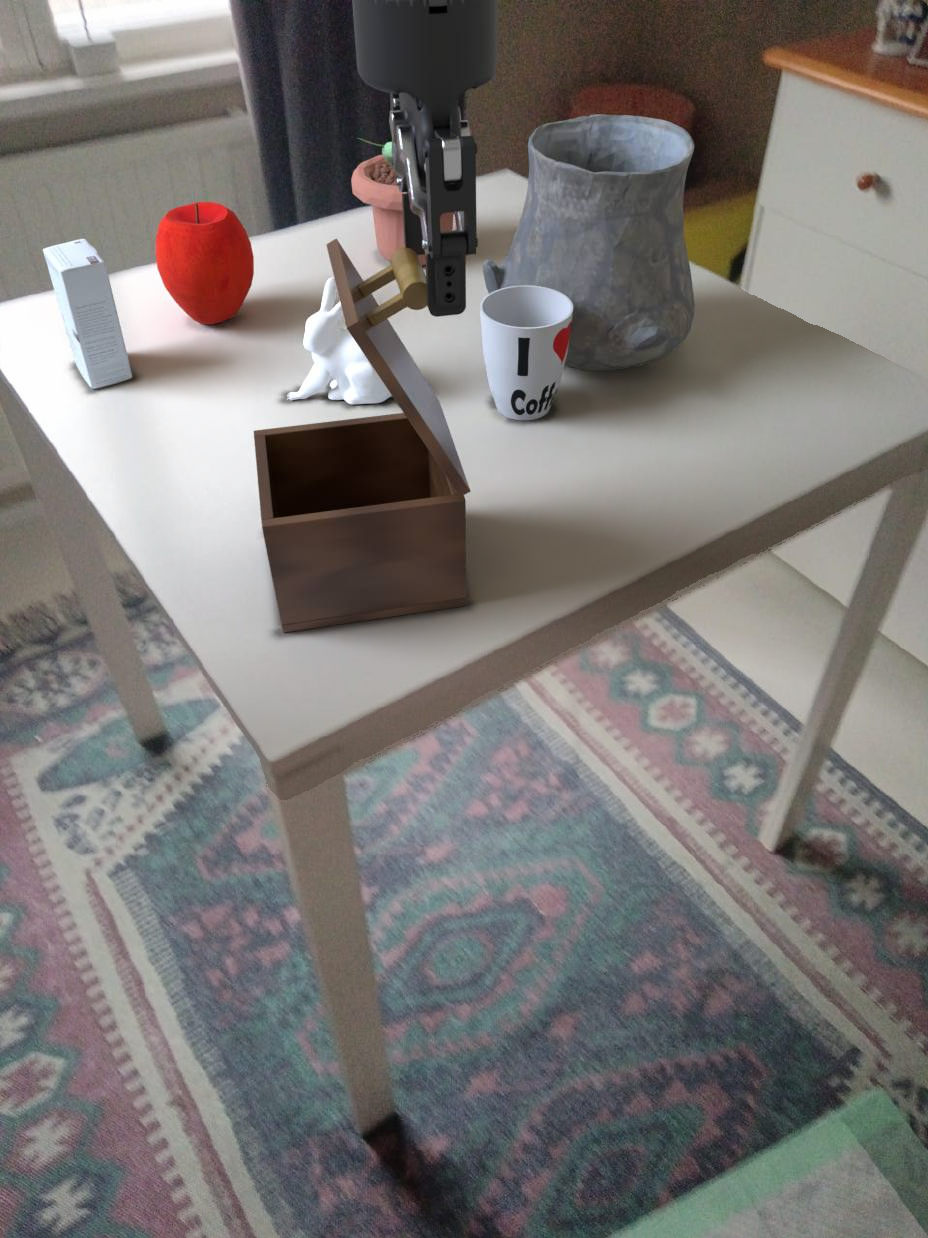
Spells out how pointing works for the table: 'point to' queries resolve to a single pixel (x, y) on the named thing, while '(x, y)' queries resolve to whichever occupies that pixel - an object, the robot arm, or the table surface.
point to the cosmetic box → (88, 312)
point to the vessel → (607, 236)
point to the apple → (205, 260)
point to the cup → (525, 347)
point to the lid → (396, 347)
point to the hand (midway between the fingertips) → (433, 281)
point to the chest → (358, 522)
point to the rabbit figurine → (337, 358)
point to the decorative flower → (386, 201)
